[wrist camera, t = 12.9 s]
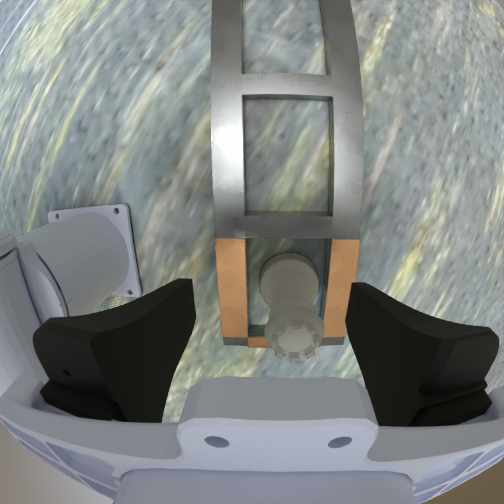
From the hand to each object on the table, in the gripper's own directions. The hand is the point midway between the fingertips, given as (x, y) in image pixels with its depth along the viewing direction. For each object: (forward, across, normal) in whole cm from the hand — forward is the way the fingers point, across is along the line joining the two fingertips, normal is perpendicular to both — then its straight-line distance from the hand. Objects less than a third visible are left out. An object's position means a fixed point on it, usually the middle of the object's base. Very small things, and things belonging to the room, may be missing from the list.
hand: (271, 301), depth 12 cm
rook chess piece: (+9, -1, +3) cm, 9 cm away
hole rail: (+8, -1, -6) cm, 11 cm away
